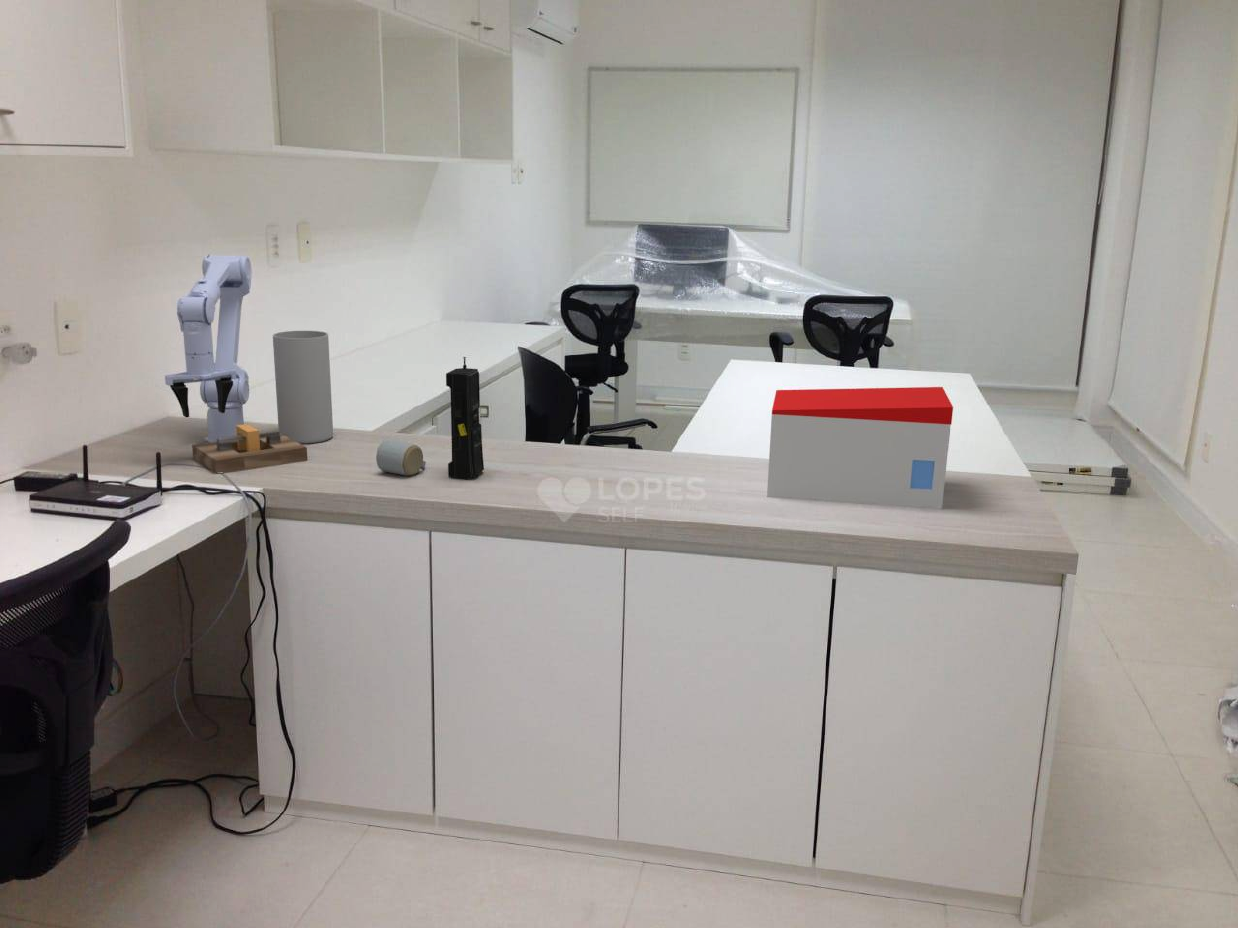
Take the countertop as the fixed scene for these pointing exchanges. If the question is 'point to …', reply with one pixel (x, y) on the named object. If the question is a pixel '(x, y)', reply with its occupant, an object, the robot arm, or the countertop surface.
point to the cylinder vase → (303, 385)
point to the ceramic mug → (399, 457)
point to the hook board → (249, 453)
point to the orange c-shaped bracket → (248, 438)
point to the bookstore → (860, 445)
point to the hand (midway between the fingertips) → (204, 414)
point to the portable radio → (465, 423)
